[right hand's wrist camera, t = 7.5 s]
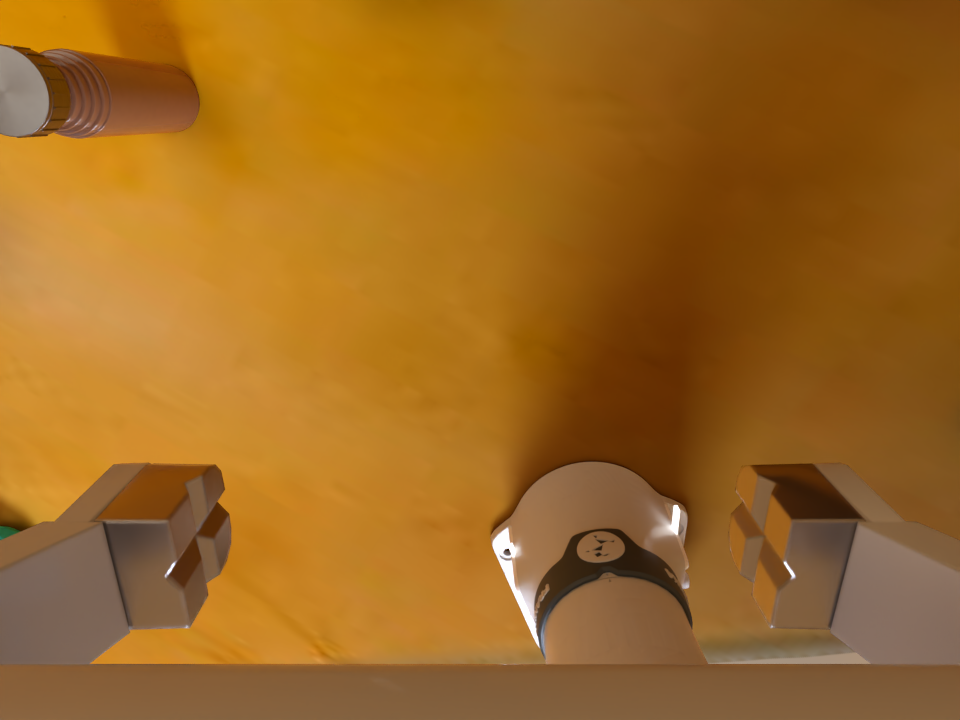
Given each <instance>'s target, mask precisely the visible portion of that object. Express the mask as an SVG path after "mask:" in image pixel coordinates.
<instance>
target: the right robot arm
mask: <svg viewBox="0 0 960 720" xmlns="http://www.w3.org/2000/svg"><path fill="white" fill-rule="evenodd" d="M224 490H225V487H224V482H223V477H222V473H221V470H220V469H219V468H218V467H217V466H216V465H211V464H159V463H153V464H150V463H121V464H115V465H113V466H111V467H110V468H109V469H108V470H107V471H106V472H105V473H104V474H103V475H102V476H101V477H100V478H99V479H98V480H97V481H96V482H95V483H94V484H93V485H92V486H91V487H90V488H89V489H88V490H87V491H86V492H85V493H84V494H83V495H81V496H80V497H79V498H78V499H77V500H76V501H75V502H74V503H73V504H72V505H71V506H70V507H69V508H68V509H67V510H66V511H65V512H64V513H63V514H62V515H61V516H60V517H59V518H58V519H57V520H56V521H55V522H42V523H39V524H37V525H35V526H32V527H30V528H28V529H25V530H23V531H21V532H18V533H16V534H14V535H11V536H9V537H7V538H4V539H2V540H0V720H960V540H958V539H955V538H953V537H951V536H948V535H946V534H944V533H941V532H939V531H937V530H934V529H932V528H930V527H927V526H925V525H923V524H920V523H918V522H905V521H904V520H903V519H902V518H901V517H900V516H899V515H898V514H897V513H896V512H895V511H894V510H893V509H892V508H891V507H890V506H889V505H888V504H887V503H886V502H885V501H884V500H883V499H882V498H881V497H880V496H879V495H878V494H877V493H876V492H875V491H873V490H872V489H871V488H870V487H869V486H868V485H867V484H866V483H865V482H864V481H863V480H862V479H861V478H860V477H859V476H858V475H857V474H856V473H855V472H854V471H853V470H852V469H851V468H850V467H849V466H848V465H845V464H842V463H818V464H774V465H746V466H742V467H741V469H740V471H739V473H738V476H737V481H736V487H735V490H736V492H737V493H738V495H739V496H740V498H741V499H742V501H743V502H742V503H741V504H740V505H739V506H738V507H737V508H736V509H735V510H734V511H733V512H732V513H731V517H730V525H729V543H730V551H731V554H732V558H733V561H734V564H735V565H736V567H737V569H738V571H739V573H740V574H741V575H742V576H744V577H745V578H747V579H748V580H750V581H751V582H753V583H754V585H753V590H752V597H753V598H754V600H755V602H756V604H757V605H758V607H759V609H760V611H761V612H762V614H763V616H764V618H765V620H766V621H767V623H768V625H769V627H770V628H791V629H827V630H830V633H832V634H833V635H834V636H836V637H837V638H838V639H839V640H841V641H842V642H843V643H845V644H846V645H847V646H849V647H850V648H851V649H852V650H854V651H855V652H856V653H858V654H859V655H860V656H862V657H863V658H864V659H865V660H867V661H868V662H869V663H871V664H708V663H707V661H706V659H705V657H704V655H703V653H702V651H701V649H700V647H699V644H698V642H697V640H696V638H695V636H694V633H693V631H692V617H691V613H690V609H689V605H688V604H689V603H688V600H687V596H686V594H685V592H684V590H683V589H685V588H689V585H690V581H689V576H688V573H686V572H685V570H686V569H688V568H689V563H688V559H687V556H686V553H685V550H684V548H683V547H684V540H685V534H686V528H687V522H688V515H687V512H686V509H685V507H684V506H683V505H682V504H681V503H679V502H677V501H675V500H672V499H670V498H667V497H665V496H662V495H660V494H659V493H657V492H656V491H655V490H654V489H653V488H652V487H651V486H650V485H649V484H648V483H647V482H646V481H645V480H644V479H642V478H641V477H640V476H639V475H637V474H635V473H634V472H632V471H630V470H628V469H626V468H624V467H621V466H618V465H615V464H610V463H605V462H580V463H574V464H570V465H566V466H563V467H561V468H558V469H556V470H554V471H551V472H550V473H548V474H546V475H545V476H543V477H542V478H540V479H539V480H538V481H536V482H535V483H534V484H533V485H532V486H531V487H530V488H529V489H528V490H527V492H526V493H525V494H524V496H523V497H522V499H521V500H520V502H519V504H518V506H517V508H516V510H515V511H514V513H513V514H512V516H511V517H510V518H508V519H507V520H506V521H505V522H503V523H502V524H501V525H499V526H498V527H497V528H496V529H495V530H494V531H493V533H492V535H491V543H492V547H493V549H494V552H495V554H496V556H497V558H498V560H499V563H500V565H501V567H502V569H503V571H504V574H505V576H506V578H507V580H508V582H509V585H510V587H511V589H512V591H513V593H514V596H515V598H516V600H517V602H518V604H519V607H520V609H521V611H522V613H523V615H524V617H525V620H526V622H527V624H528V626H529V628H530V631H531V633H532V635H533V637H534V639H535V642H536V643H537V645H538V647H539V648H540V649H541V652H542V654H543V656H544V658H545V660H546V664H90V663H91V662H92V661H93V660H95V659H96V658H97V657H99V656H100V655H101V654H103V653H104V652H105V651H107V650H108V649H109V648H110V647H112V646H113V645H114V644H116V643H117V642H118V641H120V640H121V639H122V638H123V637H125V636H126V635H127V634H129V633H130V630H132V629H168V628H190V627H191V625H192V623H193V621H194V620H195V618H196V616H197V614H198V613H199V611H200V609H201V607H202V605H203V604H204V602H205V600H206V598H207V597H208V590H207V585H206V583H207V582H209V581H210V580H212V579H213V578H215V577H216V576H218V575H219V574H220V573H221V571H222V569H223V567H224V565H225V563H226V561H227V558H228V554H229V549H230V545H231V523H230V517H229V513H228V512H227V511H226V510H225V509H224V508H223V507H222V506H221V505H220V504H219V503H218V502H217V501H218V499H219V498H220V496H221V495H222V493H223V492H224ZM507 548H509V549H510V551H505V549H507Z"/></svg>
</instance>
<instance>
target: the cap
mask: <svg viewBox="0 0 960 720" xmlns="http://www.w3.org/2000/svg"><path fill="white" fill-rule="evenodd" d="M70 95H71V94H70V92H69V88H68V85H67V83H66V79H65V78H64V77H63V75H62V73H61V72H60V71H59V69H58V68H57V66H56V65H54V64H53V63H52V62H51V61H50V60H49V59H48V58H46V57H45V55H43V54H40V53H38V52H36V51H33V50H31V49H30V48H25V47H18V46H8V45H1V44H0V134H3V135H6V136H11V137H17V138H22V137H39V136H48V134H51V133H53V132H55V131H59V128H61V127H62V125H63V124H64V123H65V122H66V121H67V118H68V116H69V112H70V109H71V98H70Z"/></svg>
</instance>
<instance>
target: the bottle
mask: <svg viewBox="0 0 960 720" xmlns="http://www.w3.org/2000/svg"><path fill="white" fill-rule="evenodd" d="M40 54H43V55H45V57H46V58H48V59H49V60H50V61H51V62H52V63H53V64H54V65H56V66H57V68H58V69H59V71H60V72H61V73H62V75H63V77H64V78H65V79H66V83H67V85H68V88H69V92H70V94H71V95H70V98H71V109H70V112H69V116H68V118H67V121H66V122H65V123H64V124H63V125H62V127H61V128H59V131H55V132H54V133H56V134H59V135H62V136H66V137H71V138H95V137H110V136H125V135H140V134H155V133H171V132H179V131H182V130H185V129H187V128H188V127H189V126H190V125H191V124H192V123H193V122H194V121H195V119H196V117H197V115H198V111H199V96H198V92H197V90H196V87H195V85H194V84H193V82H192V80H191V79H190V78H189V77H188V76H187V75H186V74H185V73H184V72H183V71H181V70H180V69H178V68H176V67H174V66H172V65H168V64H161V63H155V62H148V61H142V60H135V59H129V58H122V57H115V56H109V55H102V54H96V53H89V52H82V51H76V50H69V49H53V50H46V51H43V52H40Z"/></svg>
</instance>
